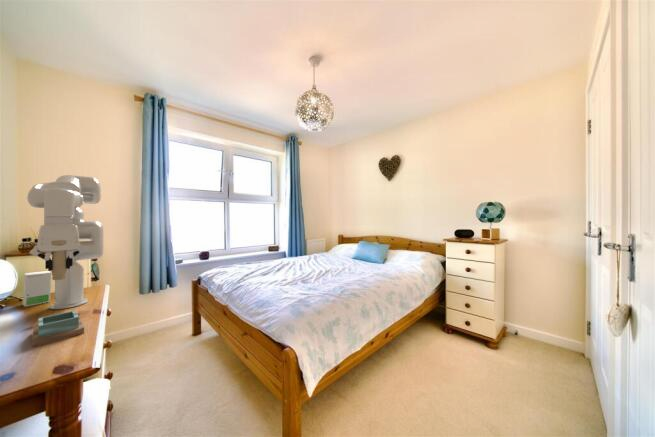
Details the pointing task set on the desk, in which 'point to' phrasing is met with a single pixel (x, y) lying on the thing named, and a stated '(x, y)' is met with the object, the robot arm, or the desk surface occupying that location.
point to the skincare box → (36, 288)
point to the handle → (59, 262)
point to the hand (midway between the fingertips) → (59, 268)
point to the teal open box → (57, 327)
